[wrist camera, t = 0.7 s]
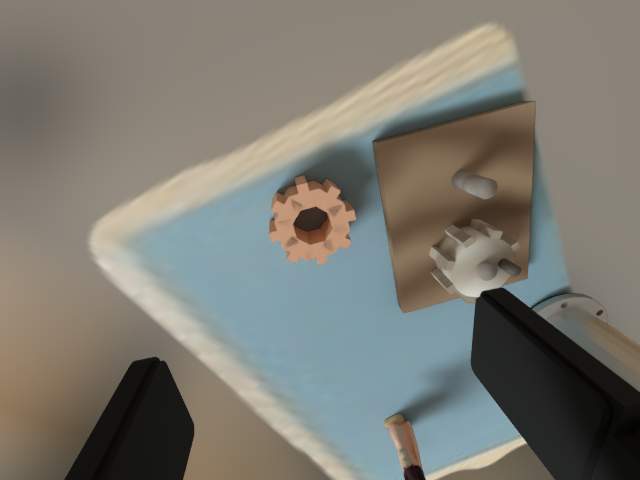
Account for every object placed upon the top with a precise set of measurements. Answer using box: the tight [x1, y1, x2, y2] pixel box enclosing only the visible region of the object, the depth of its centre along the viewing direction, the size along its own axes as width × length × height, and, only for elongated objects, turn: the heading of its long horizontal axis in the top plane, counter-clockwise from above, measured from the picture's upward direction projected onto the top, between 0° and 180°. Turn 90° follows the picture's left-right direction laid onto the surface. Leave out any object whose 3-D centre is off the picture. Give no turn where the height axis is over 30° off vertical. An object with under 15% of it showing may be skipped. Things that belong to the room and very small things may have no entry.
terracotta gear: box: [269, 175, 356, 265], centre depth 27 cm, size 7×7×3 cm
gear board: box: [372, 101, 536, 313], centre depth 28 cm, size 18×14×6 cm
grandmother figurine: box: [384, 414, 426, 480], centre depth 36 cm, size 8×4×13 cm, turn 32°
